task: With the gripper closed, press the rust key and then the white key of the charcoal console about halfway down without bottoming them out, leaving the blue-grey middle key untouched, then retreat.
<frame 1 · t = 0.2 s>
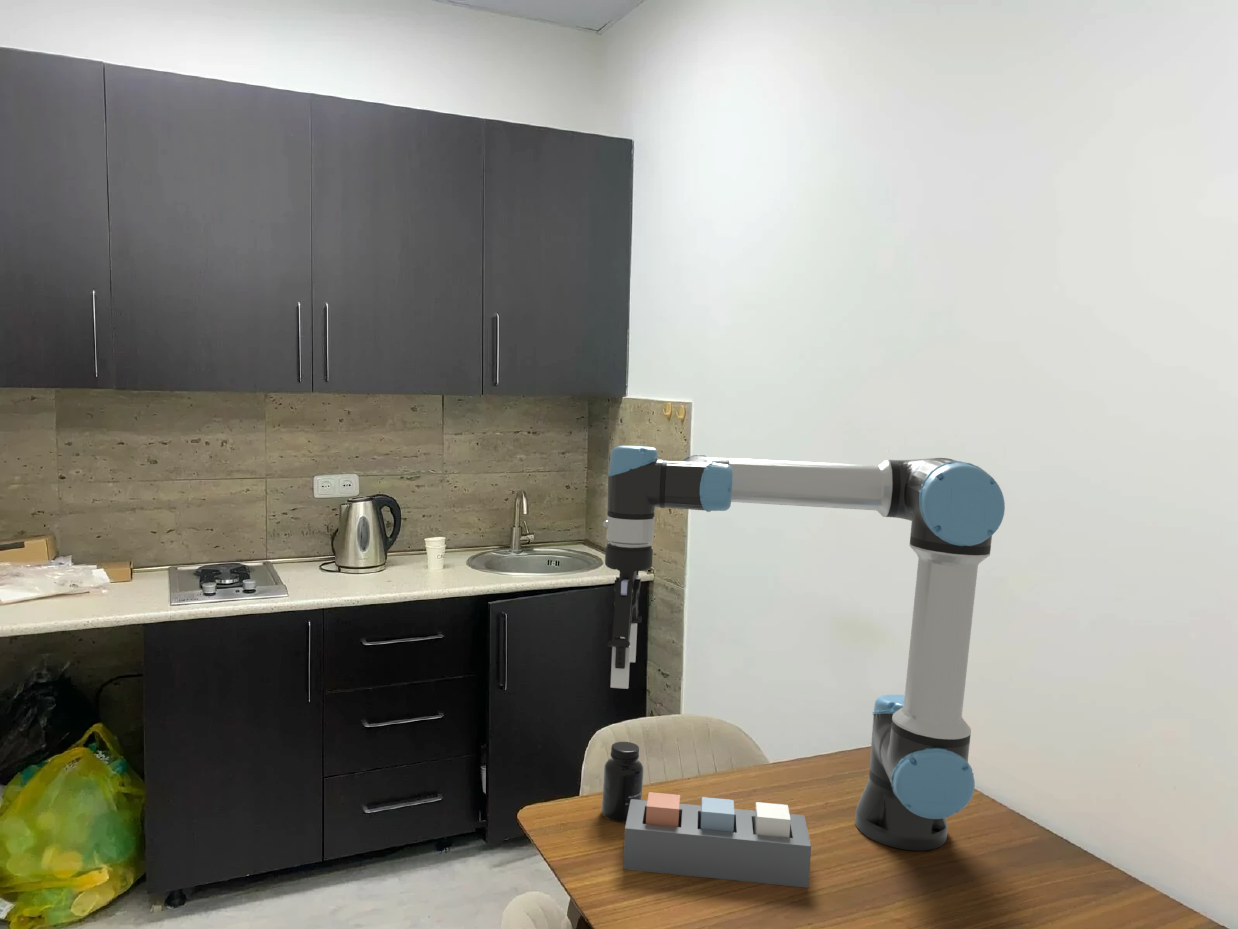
hand: (623, 674, 145), 28 cm above the table, fingers open, 13 cm apart
console: (714, 861, 141), on the table
blue key: (717, 821, 141), point 7 cm above the table, slide at 0.0 cm
supplement bottle: (621, 814, 156), on the table
white key: (771, 826, 140), point 7 cm above the table, slide at 0.0 cm
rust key: (662, 815, 142), point 7 cm above the table, slide at 0.0 cm
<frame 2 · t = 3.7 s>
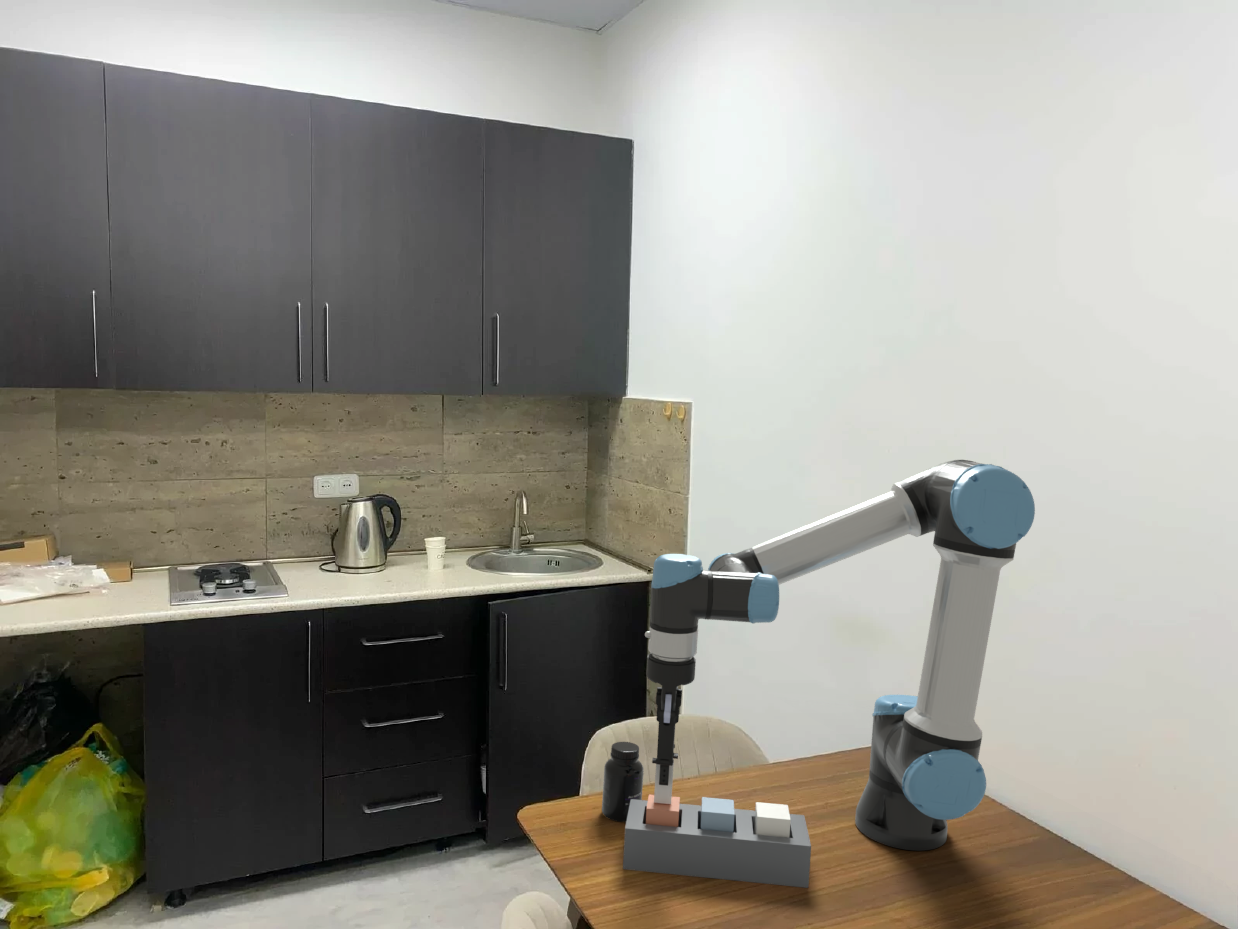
hand: (662, 801, 141), 9 cm above the table, fingers closed
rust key: (662, 818, 142), point 6 cm above the table, slide at 0.4 cm, touching gripper
everything else where it was.
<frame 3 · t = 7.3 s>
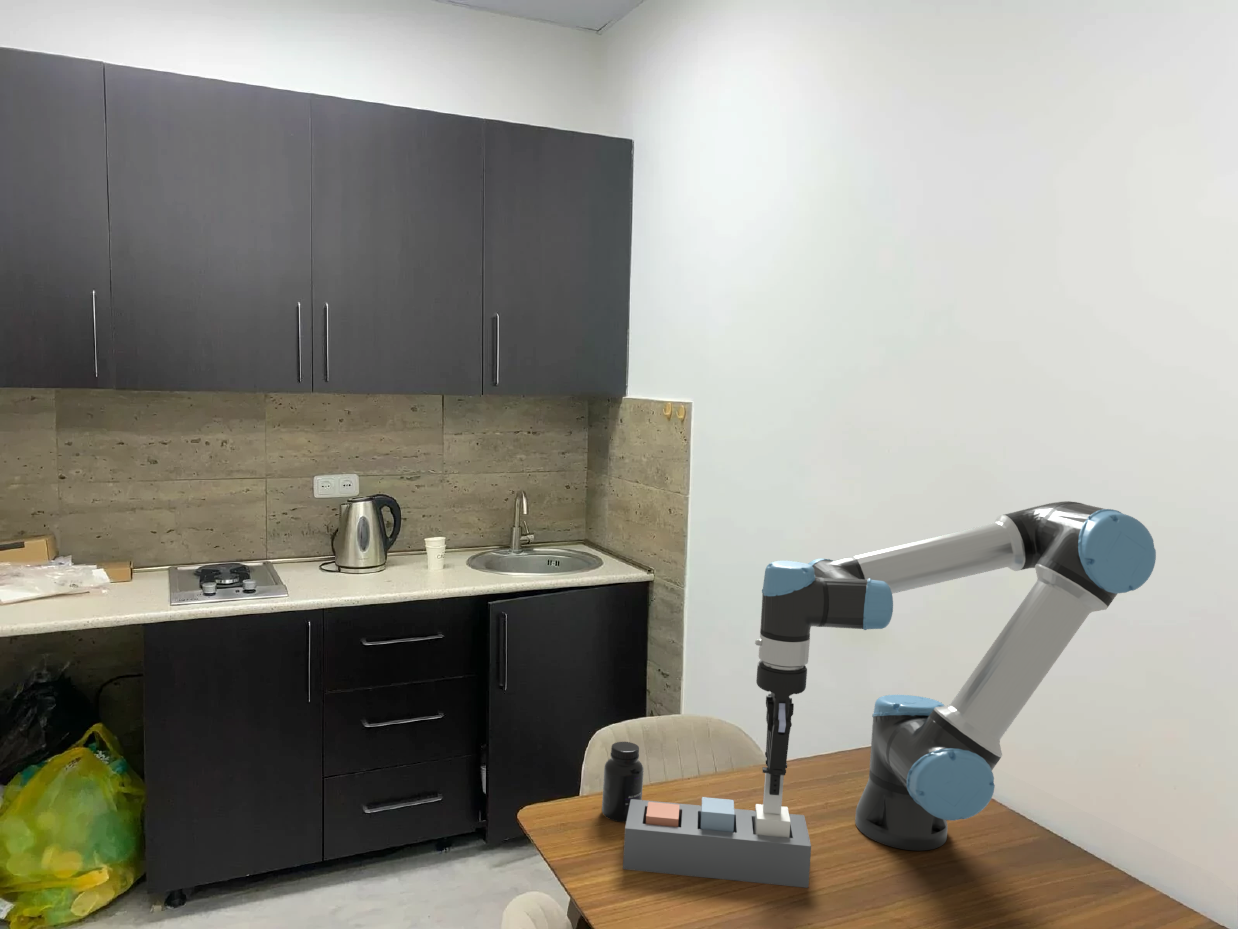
hand: (771, 811, 140), 9 cm above the table, fingers closed
white key: (771, 828, 140), point 6 cm above the table, slide at 0.3 cm, touching gripper
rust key: (662, 825, 142), point 5 cm above the table, slide at 1.6 cm
everything else where it was.
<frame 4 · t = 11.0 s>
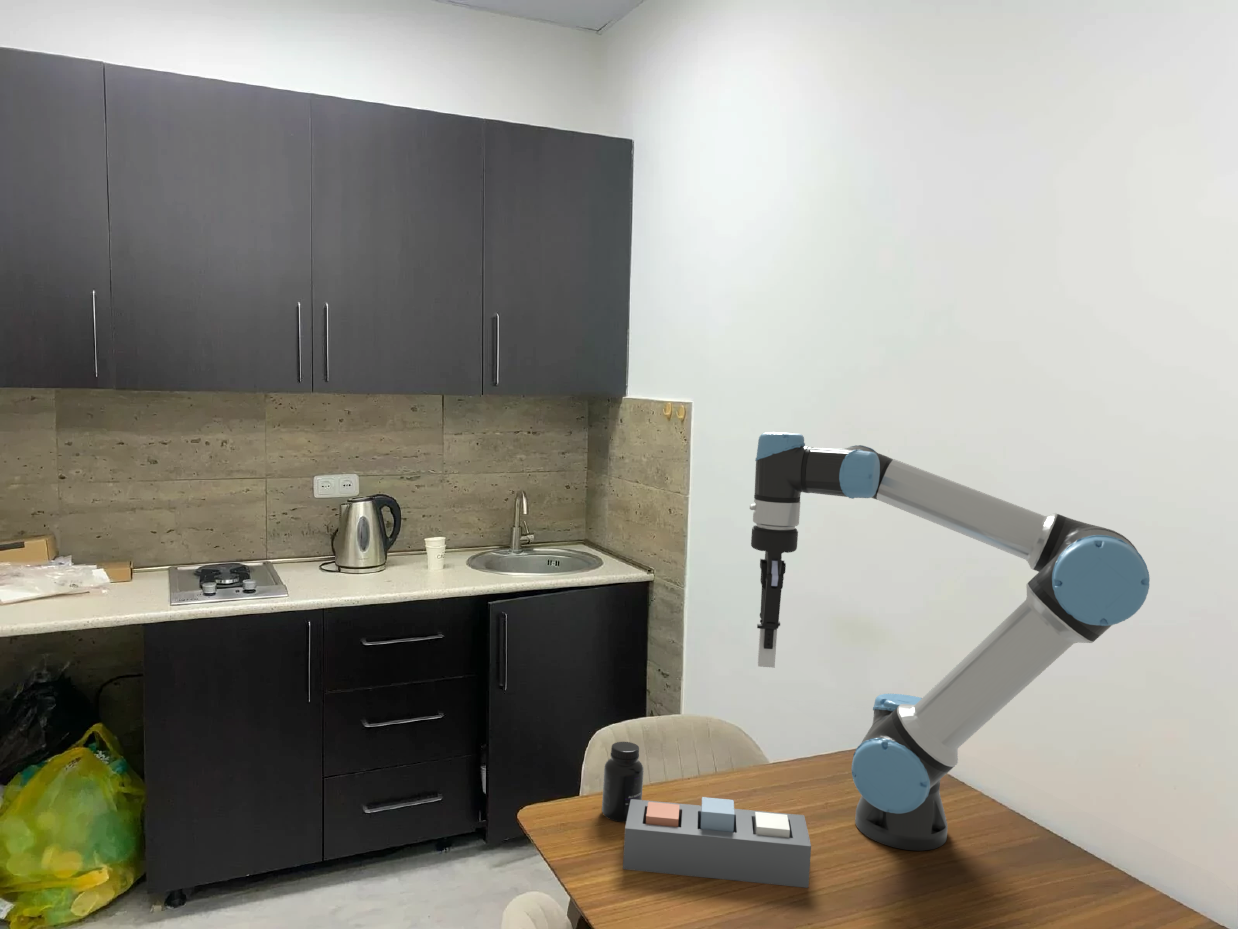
hand: (766, 665, 150), 28 cm above the table, fingers closed
white key: (771, 836, 140), point 5 cm above the table, slide at 1.6 cm
everything else where it was.
at the end: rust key slide at 1.6 cm; white key slide at 1.6 cm; blue key slide at 0.0 cm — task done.
